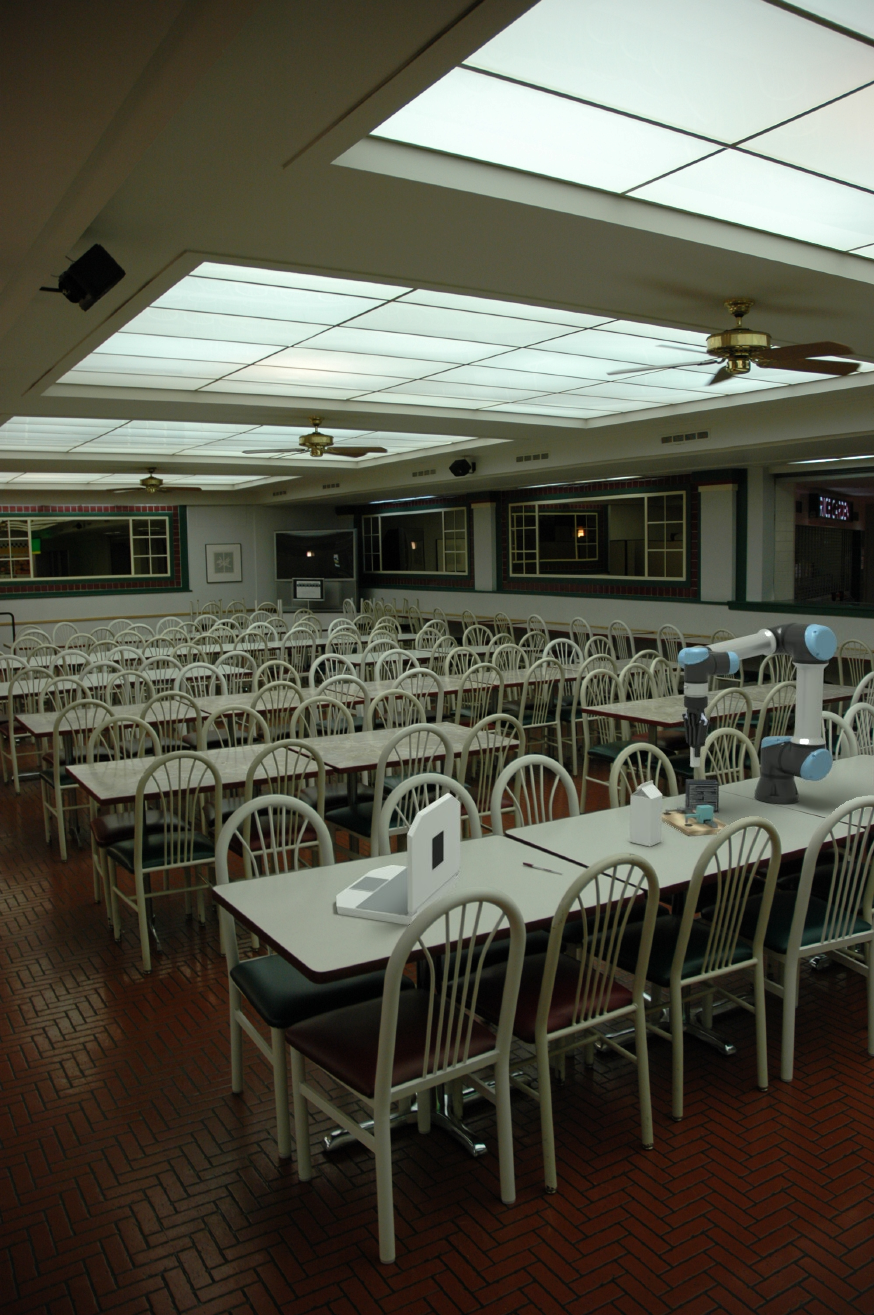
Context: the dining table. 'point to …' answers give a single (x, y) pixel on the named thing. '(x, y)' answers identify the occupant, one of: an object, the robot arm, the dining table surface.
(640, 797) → the milk carton
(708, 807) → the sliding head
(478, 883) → the dining table surface
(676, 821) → the board
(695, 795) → the small box
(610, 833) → the dining table surface
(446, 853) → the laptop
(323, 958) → the dining table surface
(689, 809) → the beam
